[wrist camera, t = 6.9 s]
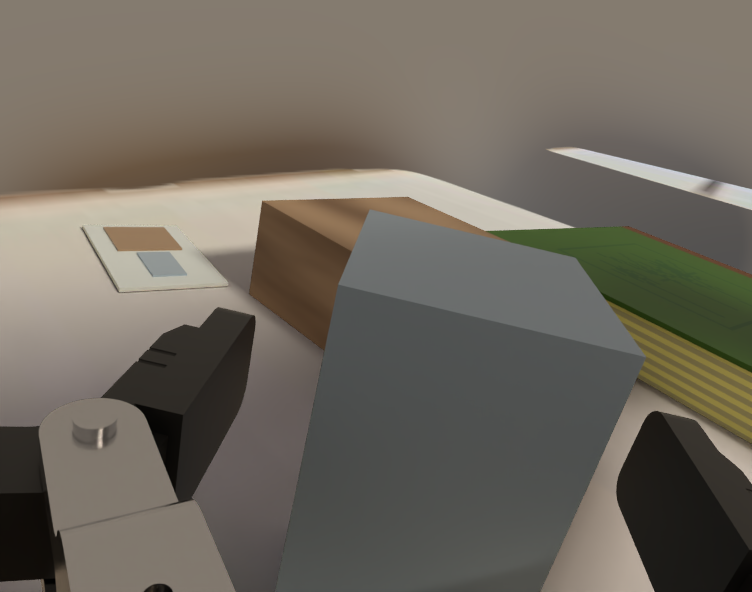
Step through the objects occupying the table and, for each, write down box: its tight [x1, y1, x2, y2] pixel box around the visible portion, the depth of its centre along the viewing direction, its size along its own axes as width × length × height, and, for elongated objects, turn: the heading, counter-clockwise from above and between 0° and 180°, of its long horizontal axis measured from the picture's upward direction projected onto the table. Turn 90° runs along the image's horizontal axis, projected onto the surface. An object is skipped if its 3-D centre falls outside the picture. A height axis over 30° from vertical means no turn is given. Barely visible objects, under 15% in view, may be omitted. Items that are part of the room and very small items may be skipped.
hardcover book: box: [486, 226, 752, 444], centre depth 35 cm, size 25×19×4 cm
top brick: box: [275, 210, 646, 592], centre depth 12 cm, size 4×4×9 cm
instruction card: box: [82, 225, 228, 292], centre depth 30 cm, size 5×8×1 cm, turn 35°
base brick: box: [249, 197, 509, 351], centre depth 28 cm, size 10×10×5 cm
